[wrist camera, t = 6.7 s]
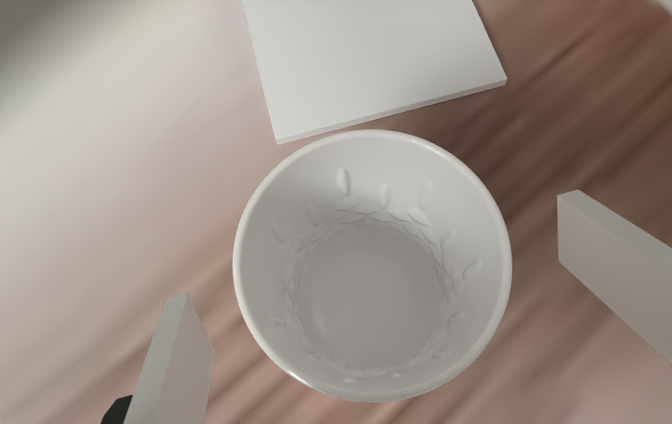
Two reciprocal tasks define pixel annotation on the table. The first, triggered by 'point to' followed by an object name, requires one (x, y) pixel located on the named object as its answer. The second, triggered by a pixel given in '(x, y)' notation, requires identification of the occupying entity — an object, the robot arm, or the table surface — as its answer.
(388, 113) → the mat
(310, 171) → the white cup
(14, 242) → the table surface
